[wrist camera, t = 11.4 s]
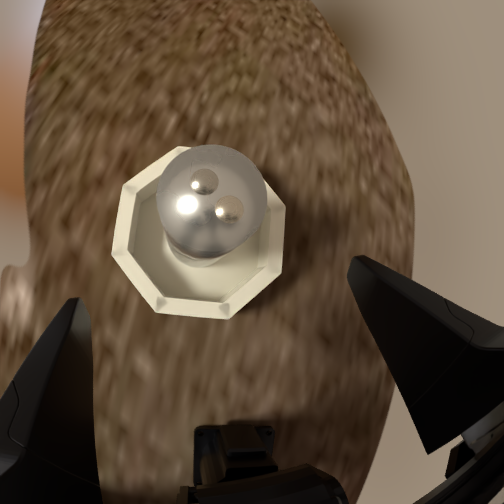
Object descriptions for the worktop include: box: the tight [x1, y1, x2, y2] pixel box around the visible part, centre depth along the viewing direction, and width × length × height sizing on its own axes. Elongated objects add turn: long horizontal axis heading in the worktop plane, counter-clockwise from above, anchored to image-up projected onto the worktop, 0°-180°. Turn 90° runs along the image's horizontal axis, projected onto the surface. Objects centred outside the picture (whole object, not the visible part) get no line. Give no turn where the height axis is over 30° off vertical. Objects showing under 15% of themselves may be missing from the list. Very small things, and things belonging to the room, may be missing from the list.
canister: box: [156, 145, 267, 268], centre depth 16 cm, size 4×4×10 cm
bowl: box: [111, 146, 286, 319], centre depth 20 cm, size 11×11×4 cm
